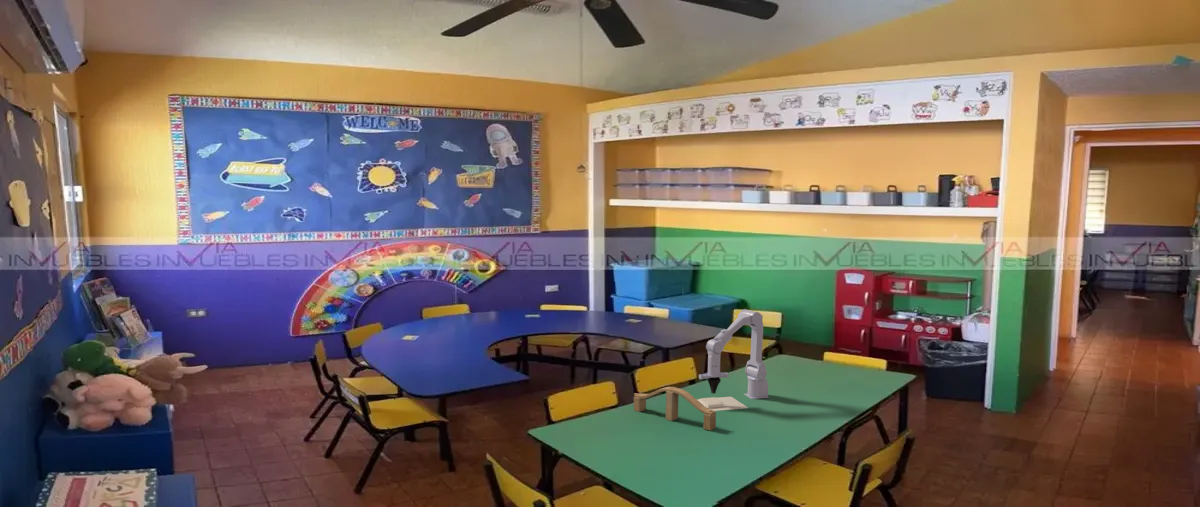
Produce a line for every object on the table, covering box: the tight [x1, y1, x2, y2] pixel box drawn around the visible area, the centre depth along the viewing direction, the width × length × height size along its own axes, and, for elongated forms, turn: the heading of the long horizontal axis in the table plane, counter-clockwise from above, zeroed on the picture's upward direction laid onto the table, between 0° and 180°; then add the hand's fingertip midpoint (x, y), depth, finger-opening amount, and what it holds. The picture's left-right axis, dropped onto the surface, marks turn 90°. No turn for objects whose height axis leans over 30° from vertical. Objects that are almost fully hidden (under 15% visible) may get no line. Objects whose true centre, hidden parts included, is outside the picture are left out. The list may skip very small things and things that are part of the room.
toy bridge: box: [633, 386, 717, 431], centre depth 318 cm, size 42×6×14 cm, turn 50°
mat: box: [695, 396, 749, 412], centre depth 340 cm, size 22×18×1 cm
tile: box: [698, 396, 724, 408], centre depth 339 cm, size 2×10×8 cm
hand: (713, 392), depth 338 cm, fingers closed
